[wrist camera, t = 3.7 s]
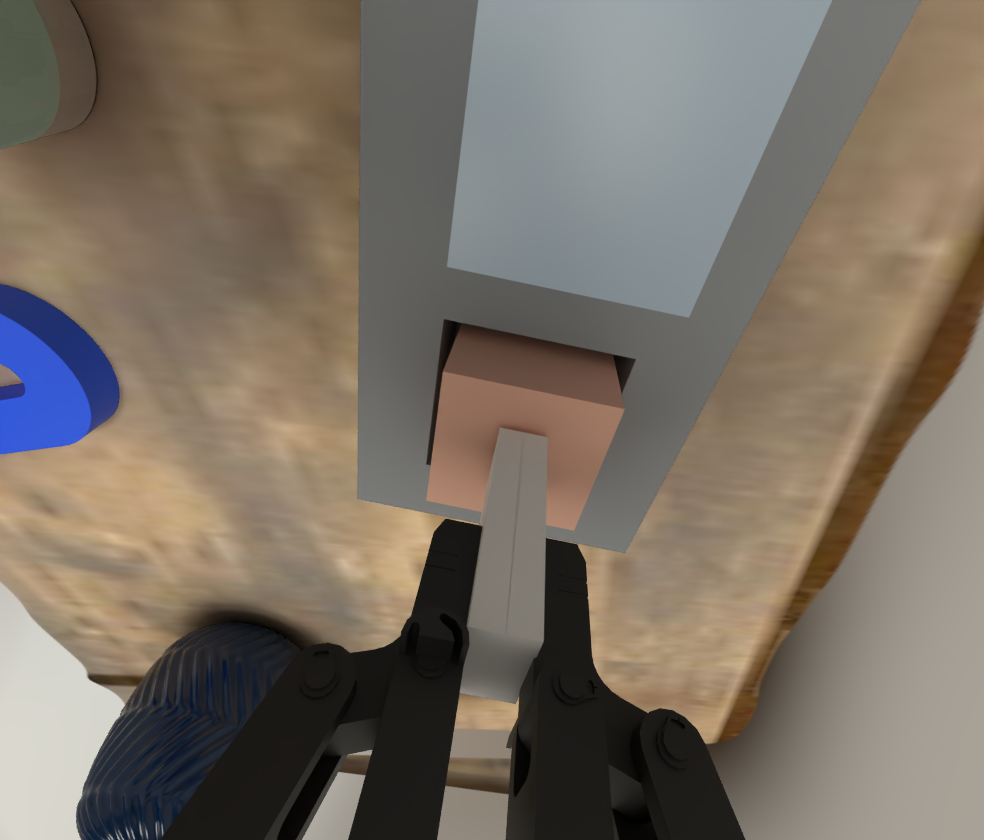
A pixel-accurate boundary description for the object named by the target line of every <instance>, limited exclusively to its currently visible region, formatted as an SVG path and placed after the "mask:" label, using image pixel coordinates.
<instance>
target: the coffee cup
mask: <svg viewBox="0 0 984 840" xmlns="http://www.w3.org/2000/svg"><path fill="white" fill-rule="evenodd" d="M95 94H96V69H95V62H94V57H93V53H92V49H91V46H90V43H89V40H88V37H87V34H86V31H85V29H84V27H83V24H82V22H81V20H80V18H79V16H78V14H77V12H76V10H75V8H74V7H73V5H72V3H71V1H70V0H0V149H2V148H6V147H10V146H13V145H17V144H21V143H25V142H28V141H32V140H35V139H39V138H42V137H46V136H49V135H53V134H57V133H60V132H64V131H67V130H70V129H73V128H75V127H77V126H78V125H79V124H81V123H82V122H83V121H84V120H85V119H86V117H87V116H88V114H89V113H90V111H91V109H92V106H93V103H94V99H95Z"/></svg>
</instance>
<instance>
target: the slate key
mask: <svg viewBox="0 0 984 840" xmlns="http://www.w3.org/2000/svg"><path fill="white" fill-rule="evenodd" d="M831 2H832V0H478V7H477V16H476V24H475V33H474V41H473V50H472V58H471V67H470V75H469V84H468V92H467V101H466V109H465V118H464V126H463V135H462V143H461V152H460V160H459V169H458V177H457V186H456V194H455V203H454V211H453V220H452V228H451V237H450V245H449V254H448V262H447V267H450V268H455V269H460V270H465V271H469V272H474V273H479V274H484V275H488V276H493V277H498V278H503V279H507V280H512V281H517V282H522V283H526V284H531V285H536V286H541V287H545V288H550V289H555V290H560V291H564V292H569V293H574V294H579V295H583V296H588V297H593V298H598V299H602V300H607V301H612V302H617V303H621V304H626V305H631V306H636V307H641V308H645V309H650V310H655V311H660V312H664V313H669V314H674V315H679V316H683V317H688V318H689V316H690V314H691V312H692V310H693V307H694V305H695V303H696V301H697V299H698V296H699V294H700V292H701V290H702V288H703V285H704V283H705V281H706V279H707V276H708V274H709V272H710V270H711V268H712V265H713V263H714V261H715V259H716V257H717V254H718V252H719V250H720V248H721V245H722V243H723V241H724V239H725V237H726V234H727V232H728V230H729V228H730V226H731V223H732V221H733V219H734V217H735V214H736V212H737V210H738V208H739V206H740V203H741V201H742V199H743V197H744V195H745V192H746V190H747V188H748V186H749V184H750V181H751V179H752V177H753V175H754V172H755V170H756V168H757V166H758V164H759V161H760V159H761V157H762V155H763V153H764V150H765V148H766V146H767V144H768V141H769V139H770V137H771V135H772V133H773V130H774V128H775V126H776V124H777V122H778V119H779V117H780V115H781V113H782V110H783V108H784V106H785V104H786V102H787V99H788V97H789V95H790V93H791V91H792V88H793V86H794V84H795V82H796V79H797V77H798V75H799V73H800V71H801V68H802V66H803V64H804V62H805V60H806V57H807V55H808V53H809V51H810V49H811V46H812V44H813V42H814V40H815V37H816V35H817V33H818V31H819V29H820V26H821V24H822V22H823V20H824V18H825V15H826V13H827V11H828V9H829V6H830V4H831Z"/></svg>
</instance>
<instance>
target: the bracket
mask: <svg viewBox="0 0 984 840" xmlns="http://www.w3.org/2000/svg"><path fill="white" fill-rule="evenodd" d="M0 364H2V365H4V366H6V367H8V368H9V369H11V370H12V371H13V372H14V373H15V374H16V375H17V376H18V377H19V378H20V379H21V380H22V382H23V383H21V384H15V385H10V386H4V387H0V454H7V453H14V452H22V451H29V450H36V449H44V448H51V447H59V446H65V445H70V444H73V443H75V442H77V441H79V440H80V439H82V438H83V437H84V436H86V435H87V434H88V433H90V432H91V431H92V430H94V429H95V428H97V427H98V426H99V425H101V424H102V423H103V422H105V421H106V420H107V419H108V418H110V417H111V416H112V415H113V414H114V412H115V411H116V409H117V407H118V403H119V397H120V396H119V386H118V382H117V378H116V375H115V373H114V371H113V368H112V366H111V365H110V363H109V361H108V359H107V358H106V356H105V355H104V353H103V352H102V350H101V349H100V348H99V346H98V345H97V344H96V343H95V342H94V340H93V339H92V338H91V337H90V336H89V335H88V334H87V333H86V332H85V331H84V330H83V329H82V328H81V327H80V326H79V325H78V324H76V323H75V322H74V321H73V320H72V319H70V318H69V317H68V316H67V315H65V314H64V313H63V312H61V311H60V310H58V309H57V308H55V307H54V306H52V305H51V304H49V303H47V302H46V301H44V300H42V299H40V298H38V297H36V296H34V295H32V294H30V293H27V292H25V291H22V290H20V289H17V288H14V287H10V286H7V285H2V284H0Z"/></svg>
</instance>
